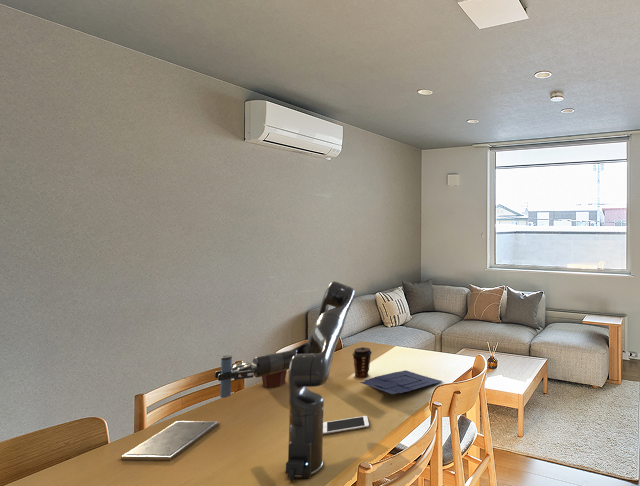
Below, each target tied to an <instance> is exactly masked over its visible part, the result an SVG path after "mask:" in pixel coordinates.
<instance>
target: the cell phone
mask: <svg viewBox="0 0 640 486" xmlns="http://www.w3.org/2000/svg"><path fill="white" fill-rule="evenodd" d="M369 427H370V422H369V419H368V415H362V416H356V417H348V418H343V419H337V420H330V421H323V435H327V434H333V433H339V432H345V431H346V432H347V431H353V430H358V429H364V428H369Z"/></svg>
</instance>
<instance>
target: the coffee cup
mask: <svg viewBox="0 0 640 486" xmlns="http://www.w3.org/2000/svg"><path fill="white" fill-rule="evenodd" d="M372 354H373V353H372V351H371V349H370V348H369V347H365V346H364V347H356V348H354V350H353V352H352V357H353V367H354V378H355V380H365V379H367V378H368V377H369V371H370V364H371V356H372Z"/></svg>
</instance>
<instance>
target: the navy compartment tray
mask: <svg viewBox="0 0 640 486" xmlns="http://www.w3.org/2000/svg"><path fill="white" fill-rule="evenodd" d="M442 382H443V381H442V380H439V379H436V378H432V377H428V376H426V375H422V374H419V373H415V372H412V371H409V370H401V371H395V372H390V373H385V374H381V375H376V376H374V377H370V378H368V379H367V378H366V379H363V381H361V382H359V384H362V385H366V386H368V387H371V388H374V389H377V390H379V391H381V392H382V391H383V392H386V393H388V394H390V395H395V394H402V393H406V392H407V393H408V392H411V391H415V390H417V389H420V388H424V387H426V386H431V385H435V384H438V383H442Z"/></svg>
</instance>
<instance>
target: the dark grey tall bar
mask: <svg viewBox="0 0 640 486" xmlns="http://www.w3.org/2000/svg"><path fill="white" fill-rule="evenodd" d="M232 359H233V355H231V354H226V355H222V356H221V357H220V371H221V374H222V373H226V372H230V373H231V371H232V370H231V367H232V365H233V364H232V361H233V360H232ZM219 389H220V390H219V393H220V394H219V397H220V398H221V399H225V398H230V397H231V394H232V379H231V378H230V379H226V380H222V381H220V388H219Z"/></svg>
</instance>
